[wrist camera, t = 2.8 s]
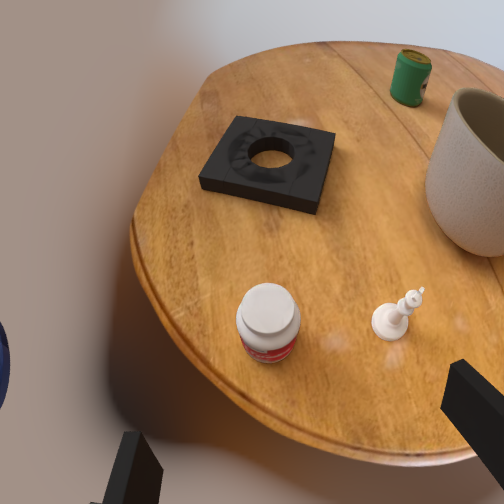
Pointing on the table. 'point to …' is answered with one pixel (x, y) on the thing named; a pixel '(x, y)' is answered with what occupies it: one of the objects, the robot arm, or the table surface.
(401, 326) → the chess piece
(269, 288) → the pill bottle
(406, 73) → the beverage can
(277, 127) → the black pad
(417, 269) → the table surface
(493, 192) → the planter
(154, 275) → the table surface
